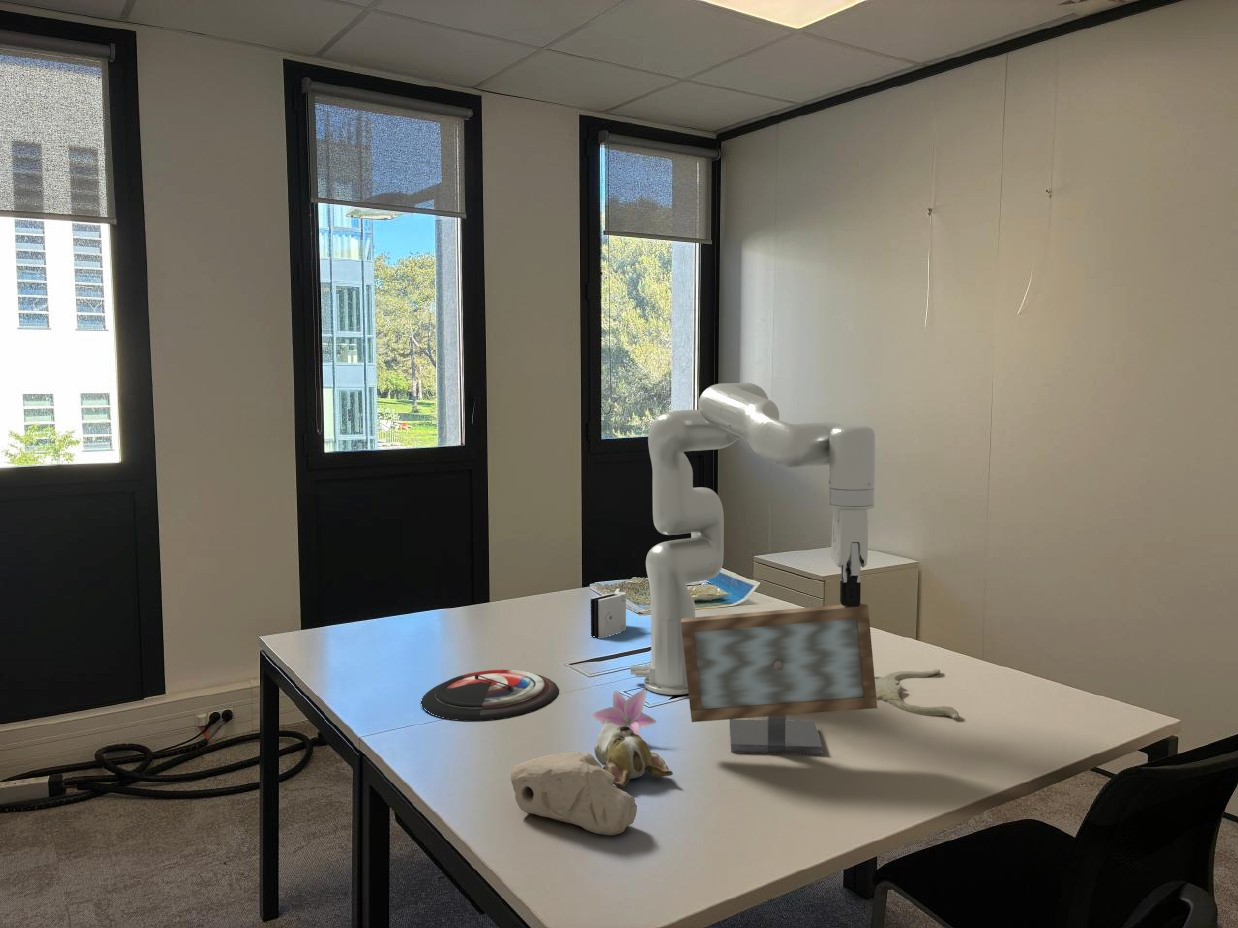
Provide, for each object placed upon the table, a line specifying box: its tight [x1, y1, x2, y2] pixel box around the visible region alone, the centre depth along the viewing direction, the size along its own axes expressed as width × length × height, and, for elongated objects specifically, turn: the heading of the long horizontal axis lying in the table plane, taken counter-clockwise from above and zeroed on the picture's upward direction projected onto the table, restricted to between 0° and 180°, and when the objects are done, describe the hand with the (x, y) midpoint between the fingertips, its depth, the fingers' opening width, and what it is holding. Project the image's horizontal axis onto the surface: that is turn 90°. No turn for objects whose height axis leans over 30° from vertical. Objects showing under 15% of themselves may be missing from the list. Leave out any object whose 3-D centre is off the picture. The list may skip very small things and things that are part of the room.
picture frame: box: [681, 602, 878, 723], centre depth 163 cm, size 32×3×18 cm, turn 85°
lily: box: [591, 689, 657, 737], centre depth 173 cm, size 11×11×9 cm
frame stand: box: [729, 715, 823, 756], centre depth 171 cm, size 16×12×19 cm
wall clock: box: [420, 669, 559, 721], centre depth 197 cm, size 27×5×30 cm
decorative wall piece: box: [875, 668, 960, 720], centre depth 198 cm, size 30×3×30 cm
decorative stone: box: [510, 751, 638, 836], centre depth 142 cm, size 20×8×10 cm, turn 60°
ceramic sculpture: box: [593, 720, 674, 788], centre depth 157 cm, size 11×9×15 cm
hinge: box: [590, 588, 627, 639], centre depth 243 cm, size 14×5×10 cm, turn 147°
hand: (850, 604), depth 161 cm, fingers closed
